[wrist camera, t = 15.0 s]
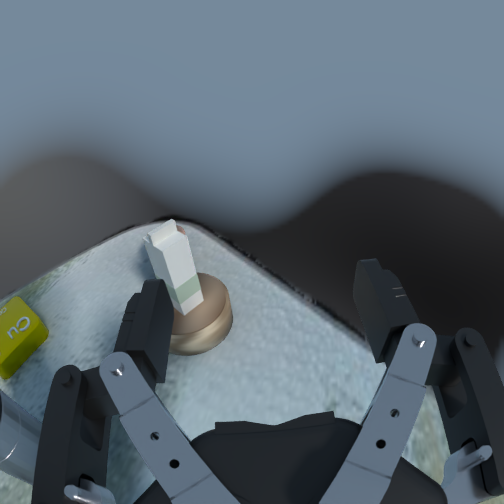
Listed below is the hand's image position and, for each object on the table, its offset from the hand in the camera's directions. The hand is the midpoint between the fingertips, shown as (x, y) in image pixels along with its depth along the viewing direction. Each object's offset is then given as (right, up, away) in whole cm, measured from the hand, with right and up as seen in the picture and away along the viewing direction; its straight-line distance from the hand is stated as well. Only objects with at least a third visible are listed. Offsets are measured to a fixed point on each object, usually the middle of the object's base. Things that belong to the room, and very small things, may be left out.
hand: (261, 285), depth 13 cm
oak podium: (-10, -10, +38) cm, 40 cm away
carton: (-11, -6, +35) cm, 37 cm away
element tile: (-49, -17, +35) cm, 62 cm away
